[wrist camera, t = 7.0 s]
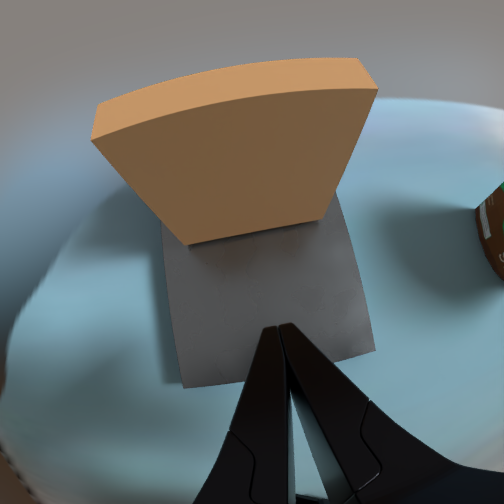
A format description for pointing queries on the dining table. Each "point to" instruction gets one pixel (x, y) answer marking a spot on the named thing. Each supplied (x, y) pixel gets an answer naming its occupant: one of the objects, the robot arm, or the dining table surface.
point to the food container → (492, 229)
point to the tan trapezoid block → (238, 143)
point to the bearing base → (264, 295)
